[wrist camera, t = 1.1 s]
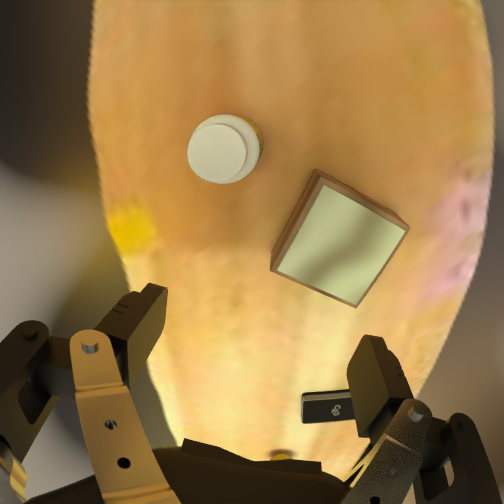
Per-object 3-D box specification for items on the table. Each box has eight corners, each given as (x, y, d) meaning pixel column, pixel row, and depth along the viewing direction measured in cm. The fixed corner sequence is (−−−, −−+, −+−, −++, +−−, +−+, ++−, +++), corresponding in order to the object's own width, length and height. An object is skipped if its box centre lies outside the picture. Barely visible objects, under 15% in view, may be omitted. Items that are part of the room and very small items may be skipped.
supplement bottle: (273, 157, 28) (269, 176, 19) (222, 178, 29) (196, 206, 21) (250, 106, 26) (236, 100, 17) (199, 129, 27) (163, 136, 19)
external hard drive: (301, 390, 42) (302, 400, 40) (372, 384, 41) (374, 393, 39) (301, 414, 45) (301, 424, 43) (365, 409, 44) (367, 418, 42)
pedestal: (271, 252, 32) (269, 272, 28) (315, 168, 28) (321, 177, 24) (349, 288, 33) (356, 310, 29) (396, 214, 29) (411, 228, 25)
